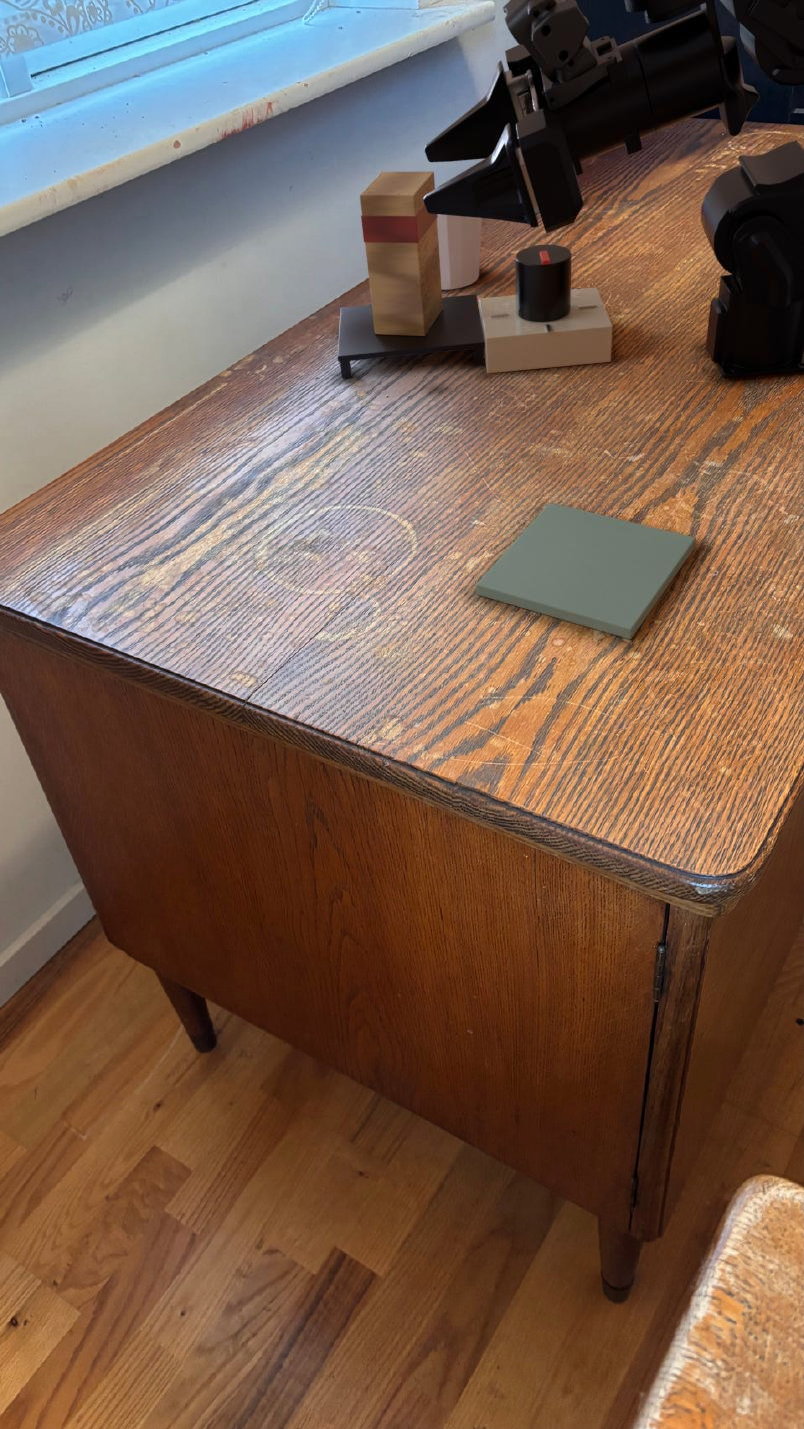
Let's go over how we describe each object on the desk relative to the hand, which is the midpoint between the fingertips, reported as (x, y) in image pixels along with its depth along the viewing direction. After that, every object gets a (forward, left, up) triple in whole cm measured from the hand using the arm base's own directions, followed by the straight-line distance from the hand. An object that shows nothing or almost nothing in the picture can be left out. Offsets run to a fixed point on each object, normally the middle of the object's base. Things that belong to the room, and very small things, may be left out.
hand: (425, 179), depth 75 cm
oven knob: (-9, -4, -12) cm, 16 cm away
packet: (+2, -7, -13) cm, 15 cm away
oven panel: (-9, -4, -15) cm, 18 cm away
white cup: (-2, -21, -15) cm, 26 cm away
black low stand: (+2, -7, -15) cm, 17 cm away
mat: (-8, +28, -15) cm, 33 cm away
